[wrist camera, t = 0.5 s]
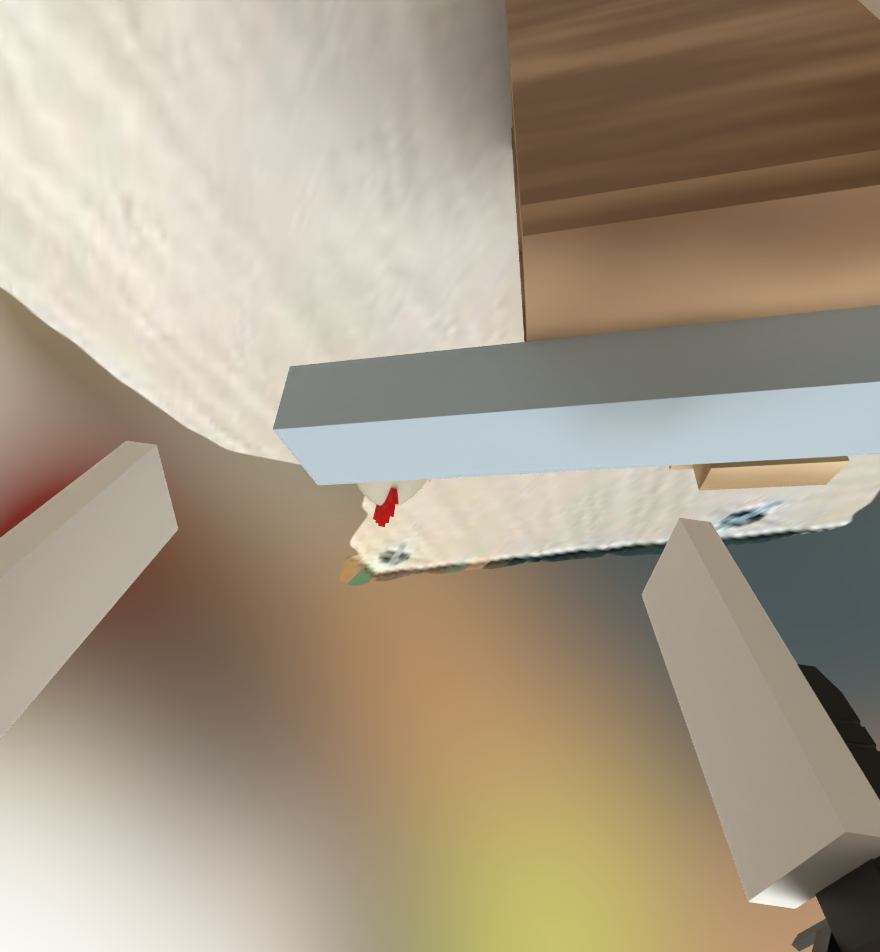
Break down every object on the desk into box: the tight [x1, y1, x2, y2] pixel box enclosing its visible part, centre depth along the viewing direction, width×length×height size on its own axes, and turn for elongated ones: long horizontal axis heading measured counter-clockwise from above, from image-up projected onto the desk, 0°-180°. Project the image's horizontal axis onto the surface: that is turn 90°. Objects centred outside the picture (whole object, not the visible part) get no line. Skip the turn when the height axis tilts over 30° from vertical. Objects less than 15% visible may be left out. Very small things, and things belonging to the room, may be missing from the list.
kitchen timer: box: [356, 479, 431, 527], centre depth 71 cm, size 14×14×15 cm
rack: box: [505, 0, 880, 490], centre depth 24 cm, size 12×12×32 cm
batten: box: [273, 305, 880, 485], centre depth 17 cm, size 4×24×3 cm, turn 101°
